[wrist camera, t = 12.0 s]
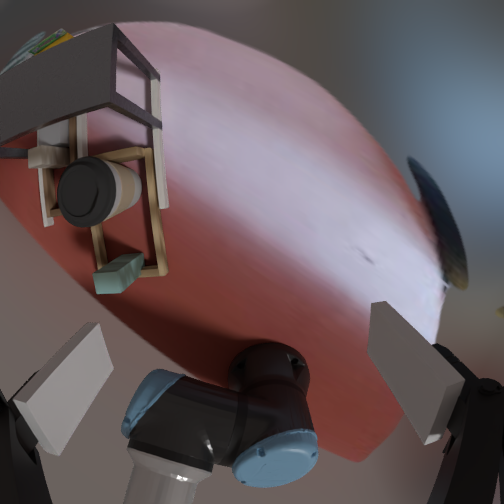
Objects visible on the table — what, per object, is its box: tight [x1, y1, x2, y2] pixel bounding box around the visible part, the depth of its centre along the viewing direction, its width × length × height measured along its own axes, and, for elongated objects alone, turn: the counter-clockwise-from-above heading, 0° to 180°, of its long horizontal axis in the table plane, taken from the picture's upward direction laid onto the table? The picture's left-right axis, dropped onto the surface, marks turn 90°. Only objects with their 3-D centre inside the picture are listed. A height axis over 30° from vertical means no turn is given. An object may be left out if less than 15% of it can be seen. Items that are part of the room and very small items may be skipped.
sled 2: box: [91, 146, 169, 294], centre depth 41 cm, size 20×12×11 cm, turn 5°
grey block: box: [39, 119, 69, 148], centre depth 40 cm, size 5×5×5 cm
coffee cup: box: [57, 156, 142, 227], centre depth 38 cm, size 9×9×15 cm
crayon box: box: [28, 29, 74, 56], centre depth 34 cm, size 7×3×12 cm, turn 107°
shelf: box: [0, 23, 162, 159], centre depth 33 cm, size 10×24×20 cm, turn 95°
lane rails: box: [37, 68, 169, 227], centre depth 43 cm, size 23×24×2 cm
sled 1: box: [28, 116, 78, 218], centre depth 39 cm, size 20×8×9 cm, turn 5°
